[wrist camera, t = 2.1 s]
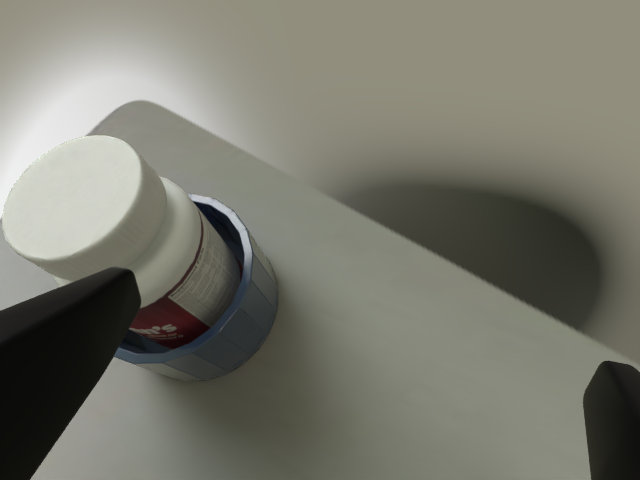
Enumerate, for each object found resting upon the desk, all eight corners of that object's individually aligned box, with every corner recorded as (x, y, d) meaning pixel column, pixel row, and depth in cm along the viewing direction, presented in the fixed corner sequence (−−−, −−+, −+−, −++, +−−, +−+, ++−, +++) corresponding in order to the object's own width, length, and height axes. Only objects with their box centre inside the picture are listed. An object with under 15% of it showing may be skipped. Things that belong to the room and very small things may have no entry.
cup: (172, 416, 22) (117, 405, 18) (113, 292, 26) (56, 259, 22) (307, 316, 24) (287, 283, 19) (232, 212, 28) (200, 165, 23)
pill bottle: (132, 339, 24) (-53, 256, 14) (177, 243, 27) (46, 114, 17) (230, 368, 22) (99, 296, 13) (269, 263, 25) (184, 133, 15)
